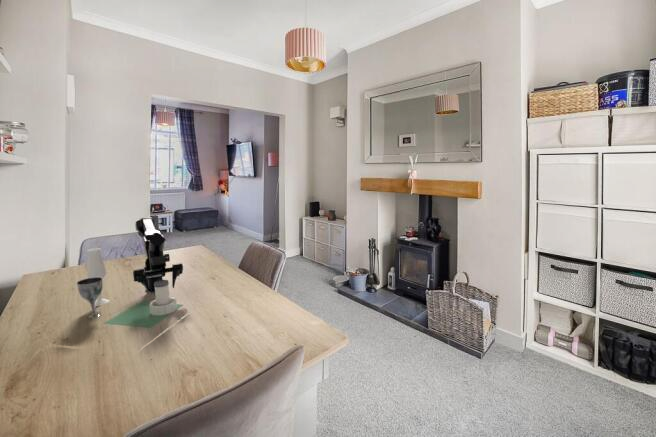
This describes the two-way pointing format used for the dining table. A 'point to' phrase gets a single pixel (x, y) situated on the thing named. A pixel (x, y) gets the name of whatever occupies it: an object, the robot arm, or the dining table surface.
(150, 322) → the putting green
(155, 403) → the dining table surface
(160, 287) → the golf ball tube
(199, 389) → the dining table surface
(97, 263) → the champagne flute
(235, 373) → the dining table surface
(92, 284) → the wine glass
